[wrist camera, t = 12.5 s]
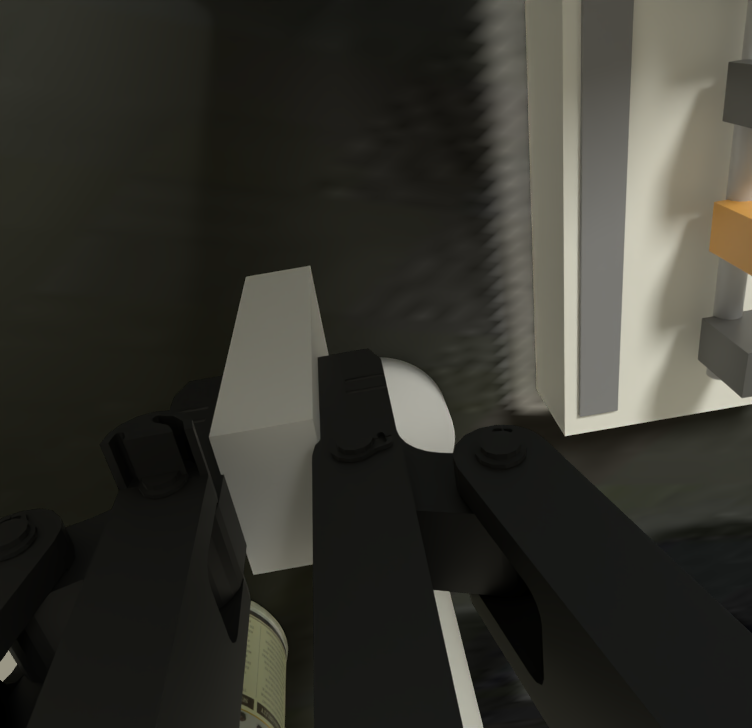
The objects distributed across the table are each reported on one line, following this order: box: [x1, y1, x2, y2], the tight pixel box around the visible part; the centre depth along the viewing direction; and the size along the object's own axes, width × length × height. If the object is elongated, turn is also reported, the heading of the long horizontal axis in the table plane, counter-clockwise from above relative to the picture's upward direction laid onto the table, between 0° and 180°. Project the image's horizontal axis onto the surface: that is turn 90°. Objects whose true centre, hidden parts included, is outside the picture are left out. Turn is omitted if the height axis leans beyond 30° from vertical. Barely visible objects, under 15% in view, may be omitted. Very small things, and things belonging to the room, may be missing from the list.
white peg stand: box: [379, 357, 483, 728], centre depth 20 cm, size 7×7×26 cm
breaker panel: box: [525, 0, 752, 436], centre depth 25 cm, size 22×12×4 cm, turn 8°
